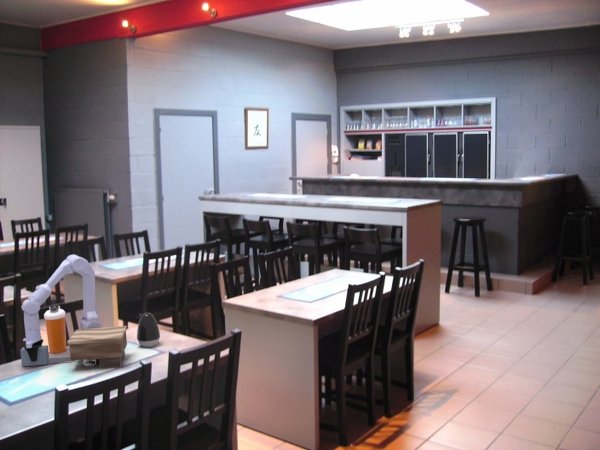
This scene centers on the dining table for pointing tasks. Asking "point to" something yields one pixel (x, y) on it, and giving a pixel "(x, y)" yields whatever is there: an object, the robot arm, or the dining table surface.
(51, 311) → the shaker bottle
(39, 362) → the grey block with tab
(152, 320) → the black egg-shaped piece
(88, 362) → the steel token
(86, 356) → the cabinet
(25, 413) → the dining table surface
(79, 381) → the dining table surface
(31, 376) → the dining table surface
